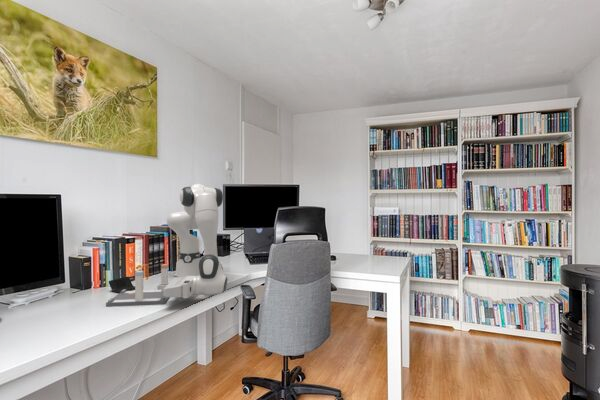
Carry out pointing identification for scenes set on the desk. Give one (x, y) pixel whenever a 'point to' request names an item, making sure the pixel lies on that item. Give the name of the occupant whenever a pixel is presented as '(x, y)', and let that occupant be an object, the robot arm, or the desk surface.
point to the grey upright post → (164, 274)
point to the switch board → (129, 299)
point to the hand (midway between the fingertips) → (158, 286)
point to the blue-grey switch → (139, 285)
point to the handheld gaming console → (121, 285)
